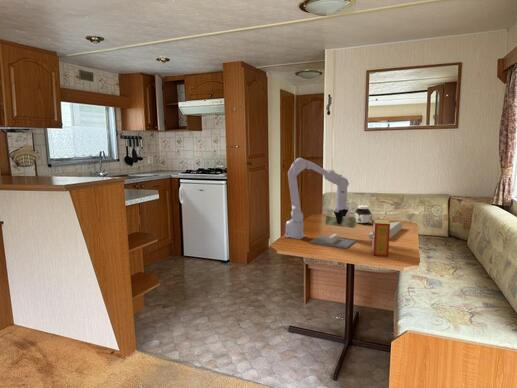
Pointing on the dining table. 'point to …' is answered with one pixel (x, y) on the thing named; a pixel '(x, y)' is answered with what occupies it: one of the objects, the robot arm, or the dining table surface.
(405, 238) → the dining table surface
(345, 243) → the stand
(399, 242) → the dining table surface
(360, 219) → the white toy car
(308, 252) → the dining table surface
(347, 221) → the bar
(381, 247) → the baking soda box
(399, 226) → the decorative molding
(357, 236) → the dining table surface
